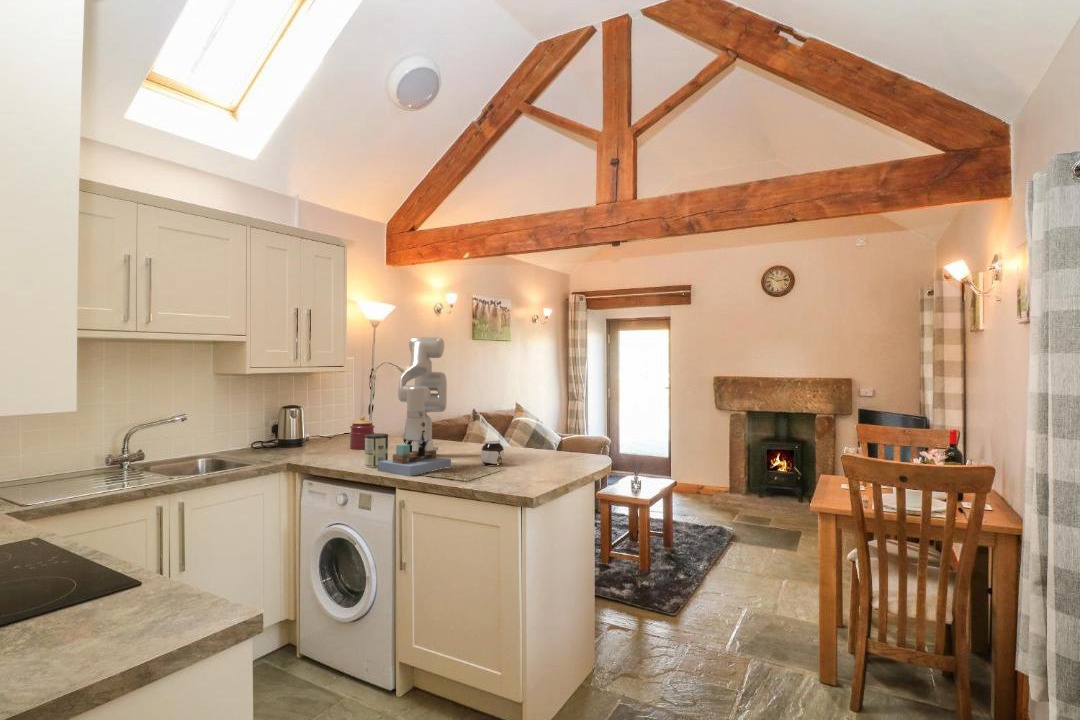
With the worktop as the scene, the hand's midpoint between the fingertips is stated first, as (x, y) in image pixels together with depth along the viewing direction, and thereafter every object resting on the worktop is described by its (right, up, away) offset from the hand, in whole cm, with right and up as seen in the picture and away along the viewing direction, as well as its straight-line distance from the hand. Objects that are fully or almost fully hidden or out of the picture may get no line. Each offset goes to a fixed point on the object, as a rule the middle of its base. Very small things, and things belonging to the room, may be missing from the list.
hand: (415, 455), depth 247 cm
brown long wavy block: (0, -2, 0) cm, 2 cm away
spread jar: (+32, -7, +15) cm, 36 cm away
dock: (0, -6, 0) cm, 6 cm away
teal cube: (-4, +1, -6) cm, 7 cm away
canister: (-43, -7, +64) cm, 78 cm away
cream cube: (+4, +1, +6) cm, 7 cm away
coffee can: (-20, -7, +9) cm, 22 cm away
